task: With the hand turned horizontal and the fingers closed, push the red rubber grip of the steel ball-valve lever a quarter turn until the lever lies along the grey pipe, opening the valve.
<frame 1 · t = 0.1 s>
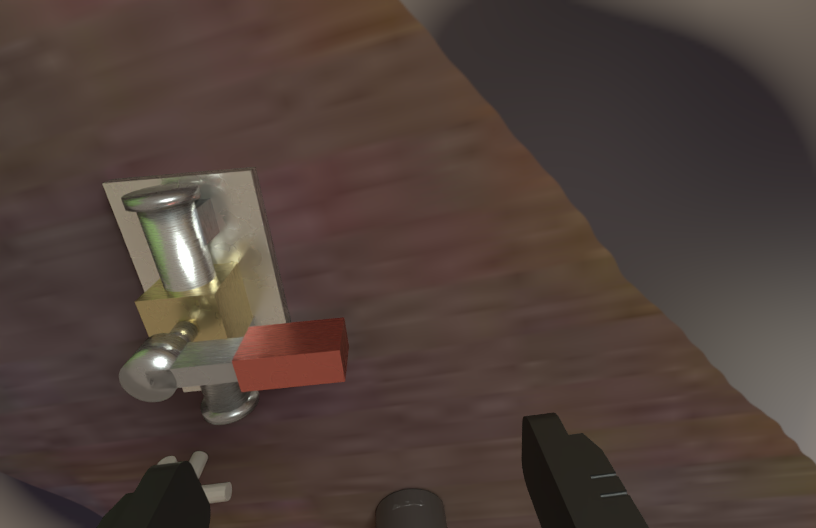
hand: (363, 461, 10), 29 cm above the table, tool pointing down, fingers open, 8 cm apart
valve lever: (239, 358, 29), point 12 cm above the table, hinge at 0.0°
pipe connector: (200, 455, 49), on the table
valve fixture: (218, 286, 40), on the table
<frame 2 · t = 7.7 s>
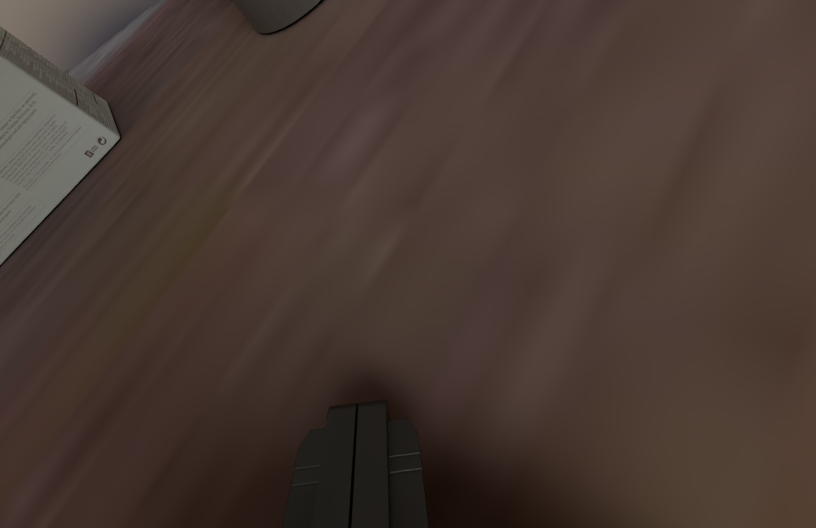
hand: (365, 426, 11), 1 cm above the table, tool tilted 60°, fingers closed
supplement box: (57, 183, 41), on the table
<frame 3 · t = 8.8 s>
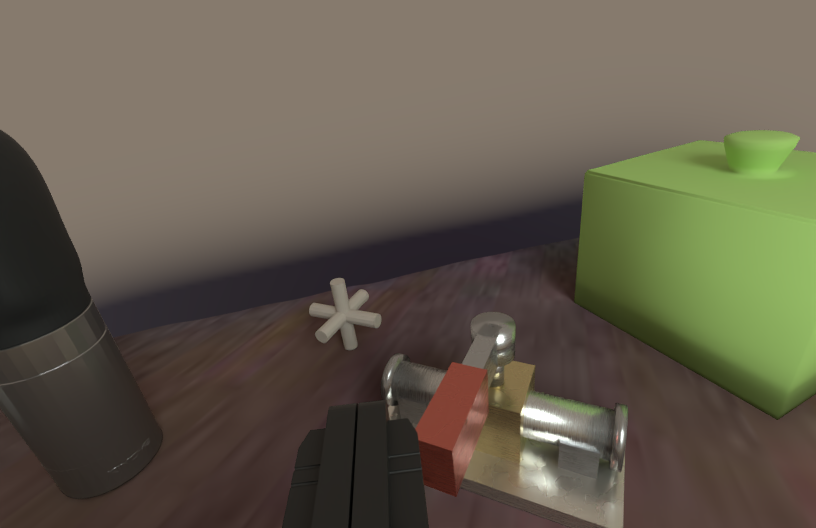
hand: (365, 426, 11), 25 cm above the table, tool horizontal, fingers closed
valve lever: (472, 383, 30), point 12 cm above the table, hinge at 0.0°
canister: (711, 321, 52), on the table
pipe connector: (351, 347, 56), on the table
valve fixture: (495, 438, 40), on the table
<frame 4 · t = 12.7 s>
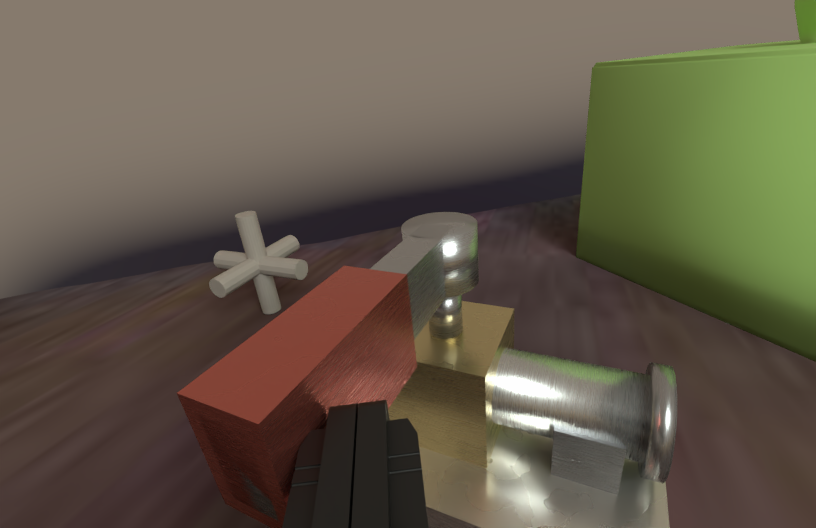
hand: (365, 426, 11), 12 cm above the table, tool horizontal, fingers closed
valve lever: (386, 311, 16), point 12 cm above the table, hinge at 0.8°, touching gripper
canister: (763, 275, 39), on the table
pipe connector: (272, 310, 41), on the table
valve fixture: (452, 429, 25), on the table
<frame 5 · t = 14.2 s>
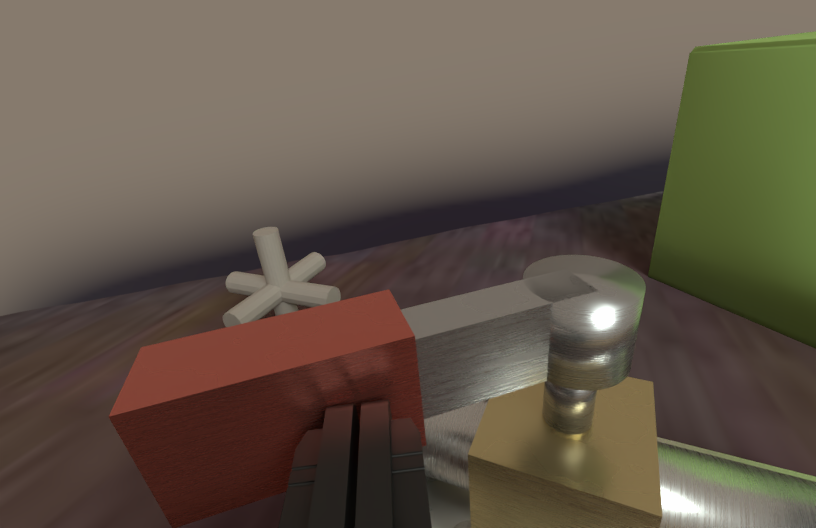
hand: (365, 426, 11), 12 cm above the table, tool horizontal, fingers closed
valve lever: (419, 362, 13), point 12 cm above the table, hinge at 47.7°, touching gripper
pipe connector: (295, 343, 35), on the table
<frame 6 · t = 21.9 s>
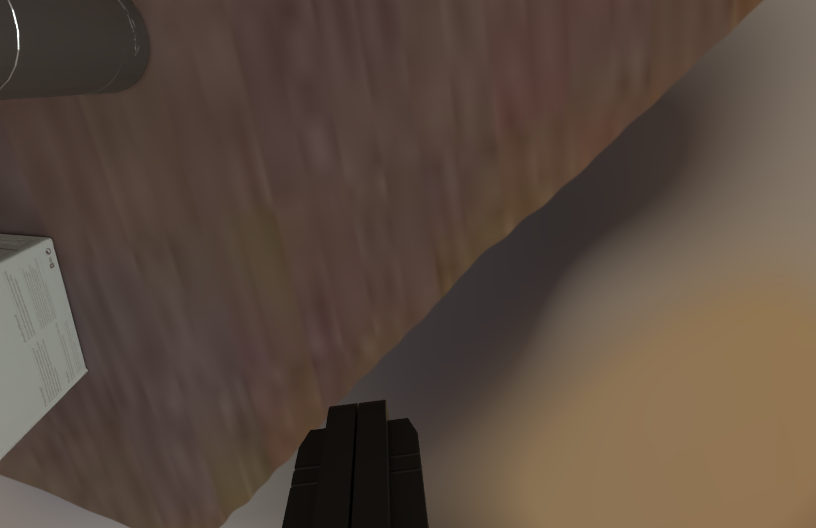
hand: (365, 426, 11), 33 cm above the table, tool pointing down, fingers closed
supplement box: (10, 304, 45), on the table
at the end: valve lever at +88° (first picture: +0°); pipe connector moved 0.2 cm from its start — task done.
